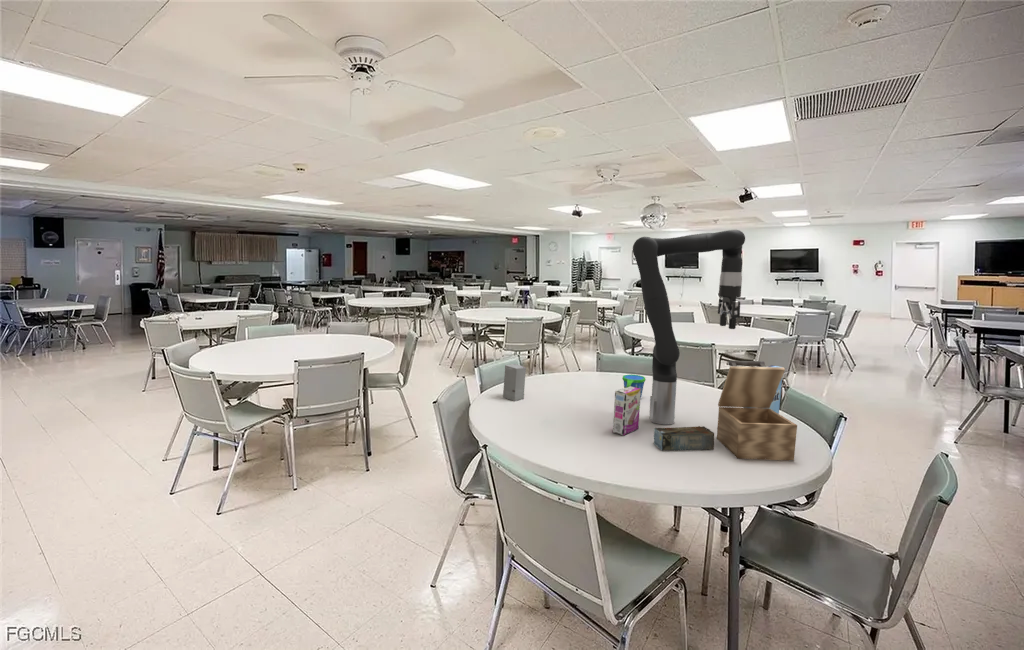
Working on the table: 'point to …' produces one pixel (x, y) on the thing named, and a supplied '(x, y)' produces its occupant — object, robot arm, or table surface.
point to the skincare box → (514, 382)
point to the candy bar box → (626, 410)
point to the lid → (750, 385)
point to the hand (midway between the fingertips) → (727, 327)
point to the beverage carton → (683, 438)
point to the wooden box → (756, 433)
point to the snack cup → (634, 381)
